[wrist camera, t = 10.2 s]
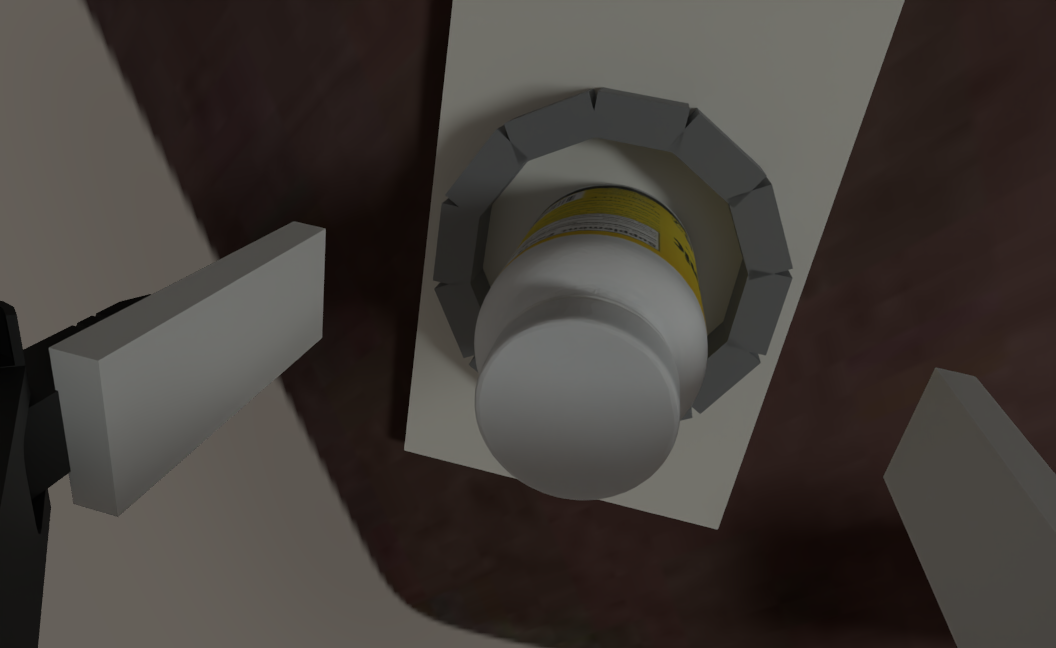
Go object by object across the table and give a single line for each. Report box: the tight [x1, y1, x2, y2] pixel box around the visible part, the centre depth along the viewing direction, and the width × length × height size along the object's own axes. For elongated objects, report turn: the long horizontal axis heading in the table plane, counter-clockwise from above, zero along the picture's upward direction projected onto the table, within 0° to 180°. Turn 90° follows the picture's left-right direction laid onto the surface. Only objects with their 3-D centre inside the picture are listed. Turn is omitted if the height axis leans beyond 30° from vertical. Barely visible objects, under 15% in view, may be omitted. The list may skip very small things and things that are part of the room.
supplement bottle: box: [474, 184, 708, 500], centre depth 18 cm, size 5×5×10 cm
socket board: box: [404, 0, 904, 530], centre depth 22 cm, size 18×12×2 cm, turn 170°
